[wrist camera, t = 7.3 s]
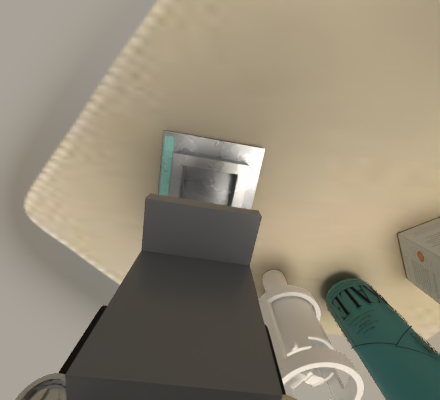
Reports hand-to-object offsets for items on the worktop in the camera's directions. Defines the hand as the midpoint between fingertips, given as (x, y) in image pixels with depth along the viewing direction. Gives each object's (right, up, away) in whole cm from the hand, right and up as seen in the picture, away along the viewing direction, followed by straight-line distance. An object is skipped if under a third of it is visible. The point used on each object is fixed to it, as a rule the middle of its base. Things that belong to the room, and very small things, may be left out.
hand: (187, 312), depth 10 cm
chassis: (0, +5, +16) cm, 17 cm away
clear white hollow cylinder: (+9, -6, +20) cm, 23 cm away
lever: (0, +1, +3) cm, 3 cm away
